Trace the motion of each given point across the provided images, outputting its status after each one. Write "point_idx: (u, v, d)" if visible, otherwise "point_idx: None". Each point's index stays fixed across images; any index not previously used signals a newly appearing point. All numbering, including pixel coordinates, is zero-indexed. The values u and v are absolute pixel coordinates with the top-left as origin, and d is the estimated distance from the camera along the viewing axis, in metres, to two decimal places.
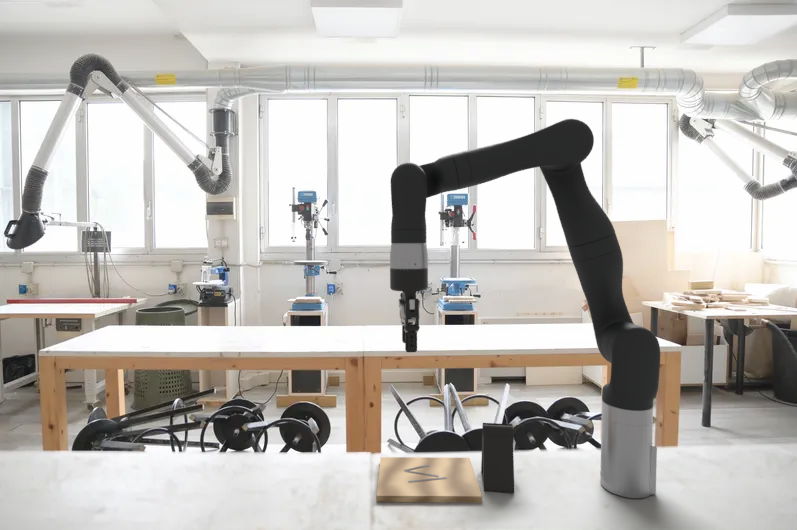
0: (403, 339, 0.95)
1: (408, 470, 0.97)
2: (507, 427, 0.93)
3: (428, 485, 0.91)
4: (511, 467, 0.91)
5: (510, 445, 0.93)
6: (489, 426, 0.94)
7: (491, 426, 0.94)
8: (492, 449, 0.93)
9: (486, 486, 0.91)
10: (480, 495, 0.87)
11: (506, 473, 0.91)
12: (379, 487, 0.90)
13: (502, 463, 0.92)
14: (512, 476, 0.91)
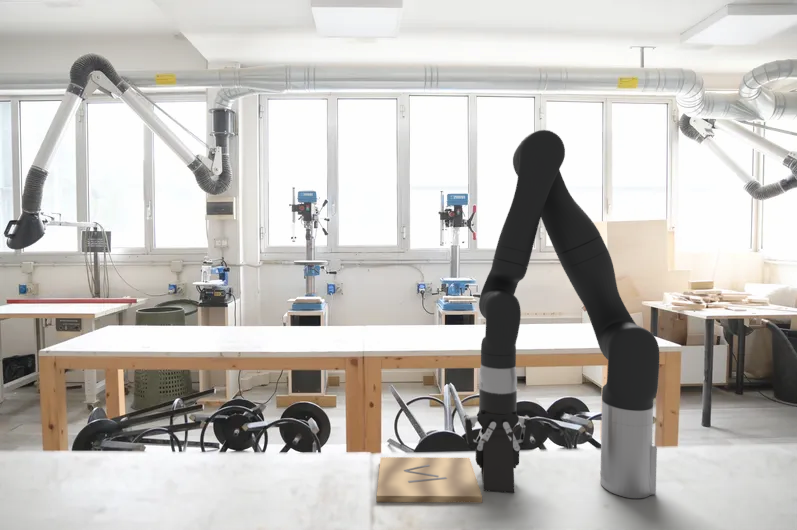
0: None
1: (408, 470, 0.97)
2: None
3: (428, 485, 0.91)
4: (511, 467, 0.91)
5: (510, 445, 0.93)
6: None
7: None
8: (492, 449, 0.93)
9: (486, 486, 0.91)
10: (480, 495, 0.87)
11: (506, 472, 0.91)
12: (379, 487, 0.90)
13: (502, 463, 0.92)
14: (512, 476, 0.91)
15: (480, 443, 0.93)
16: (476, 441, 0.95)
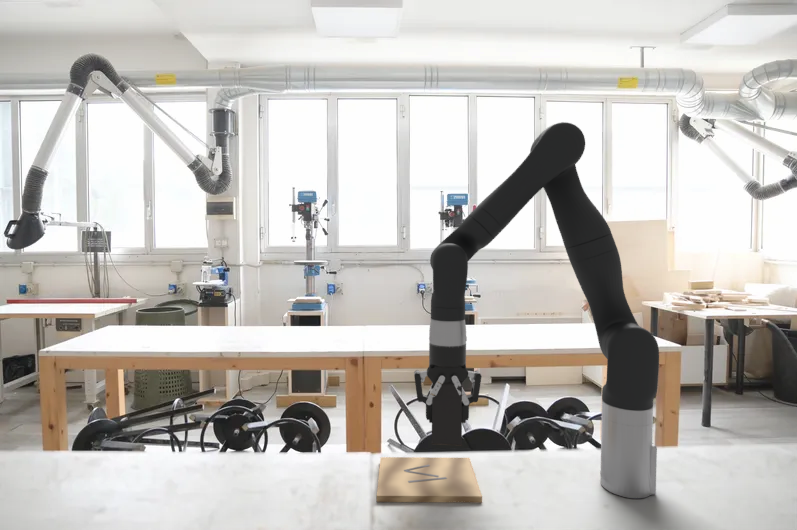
0: None
1: (408, 470, 0.97)
2: None
3: (428, 485, 0.91)
4: (459, 420, 0.91)
5: (459, 399, 0.92)
6: None
7: None
8: (441, 403, 0.93)
9: (434, 439, 0.91)
10: (480, 495, 0.87)
11: (454, 426, 0.91)
12: (379, 487, 0.90)
13: (450, 416, 0.92)
14: (460, 429, 0.91)
15: (429, 397, 0.93)
16: (426, 396, 0.94)
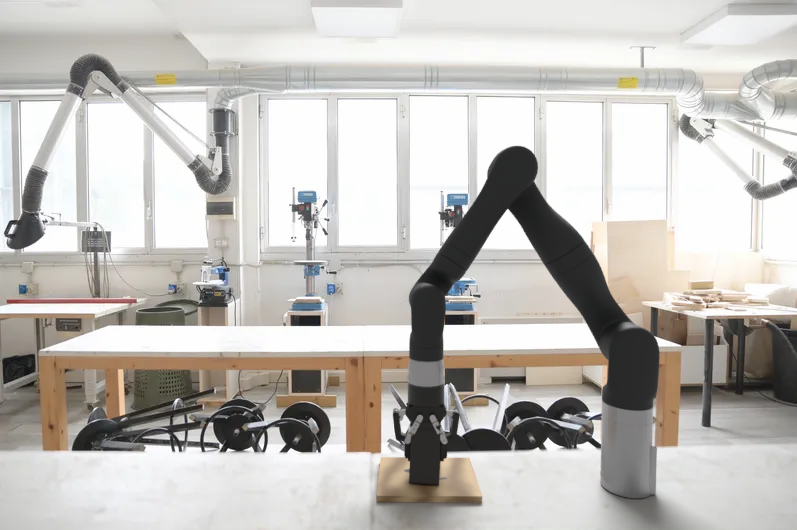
0: None
1: (408, 470, 0.97)
2: None
3: (428, 485, 0.91)
4: (437, 460, 0.91)
5: (437, 438, 0.93)
6: None
7: None
8: (419, 441, 0.93)
9: (411, 478, 0.91)
10: (480, 495, 0.87)
11: (431, 465, 0.91)
12: (379, 487, 0.90)
13: (428, 455, 0.92)
14: (437, 468, 0.91)
15: (407, 436, 0.93)
16: (404, 434, 0.95)
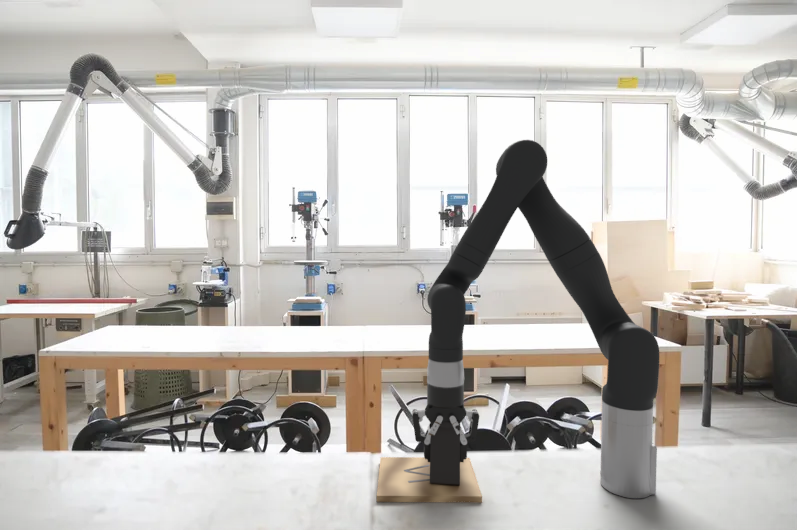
0: None
1: (408, 470, 0.97)
2: None
3: (428, 485, 0.91)
4: (457, 460, 0.91)
5: (457, 438, 0.93)
6: None
7: None
8: (439, 442, 0.93)
9: (432, 478, 0.91)
10: (480, 495, 0.87)
11: (452, 465, 0.91)
12: (379, 487, 0.90)
13: (448, 456, 0.92)
14: (458, 468, 0.91)
15: (427, 437, 0.93)
16: (424, 435, 0.95)
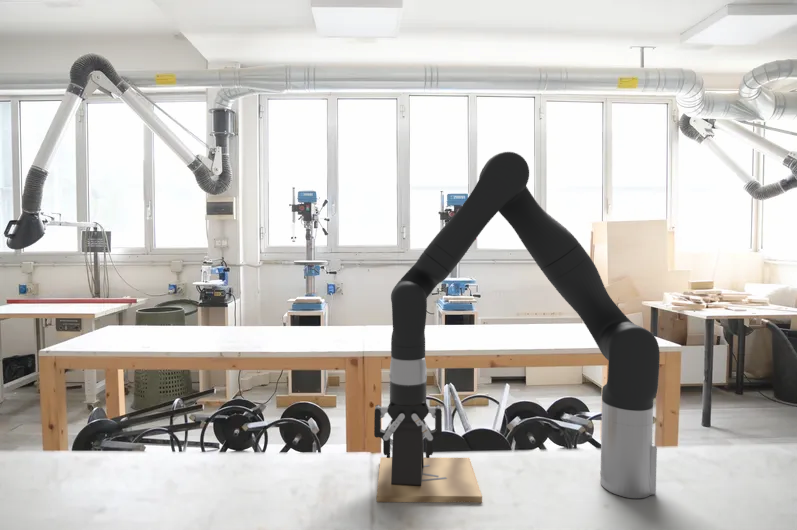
0: None
1: None
2: None
3: (428, 485, 0.91)
4: (419, 460, 0.91)
5: (419, 438, 0.93)
6: None
7: None
8: (401, 442, 0.93)
9: (393, 479, 0.91)
10: (480, 495, 0.87)
11: (413, 466, 0.91)
12: (379, 487, 0.90)
13: (410, 456, 0.92)
14: (419, 469, 0.91)
15: (386, 433, 0.93)
16: (383, 431, 0.95)
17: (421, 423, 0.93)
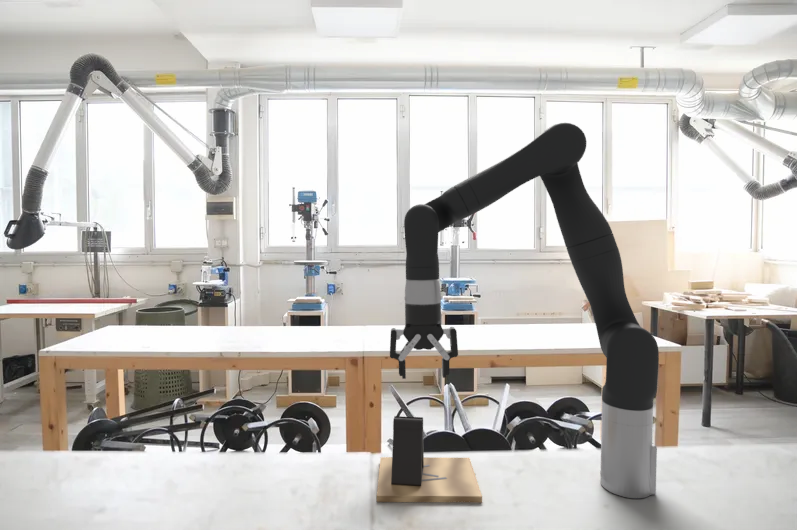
0: (405, 375, 0.96)
1: None
2: (417, 420, 0.93)
3: (428, 485, 0.91)
4: (419, 460, 0.91)
5: (419, 438, 0.93)
6: (399, 419, 0.94)
7: (401, 419, 0.94)
8: (401, 442, 0.93)
9: (394, 479, 0.91)
10: (480, 495, 0.87)
11: (413, 466, 0.91)
12: (379, 487, 0.90)
13: (410, 456, 0.92)
14: (419, 469, 0.91)
15: (401, 354, 0.95)
16: (398, 353, 0.96)
17: (437, 343, 0.95)
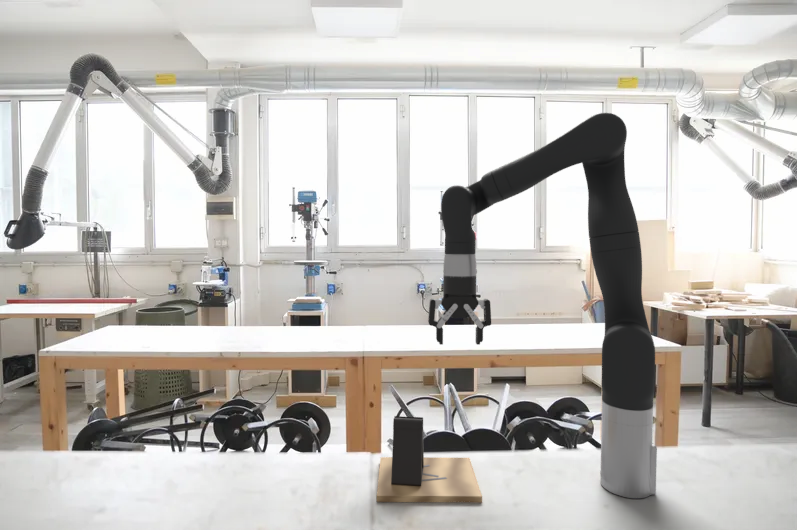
0: (442, 341, 1.05)
1: None
2: (417, 420, 0.93)
3: (428, 485, 0.91)
4: (419, 460, 0.91)
5: (419, 438, 0.93)
6: (399, 419, 0.94)
7: (401, 419, 0.94)
8: (401, 442, 0.93)
9: (394, 479, 0.91)
10: (480, 495, 0.87)
11: (413, 466, 0.91)
12: (379, 487, 0.90)
13: (410, 456, 0.92)
14: (420, 469, 0.91)
15: (439, 321, 1.05)
16: (436, 321, 1.06)
17: (472, 312, 1.04)
